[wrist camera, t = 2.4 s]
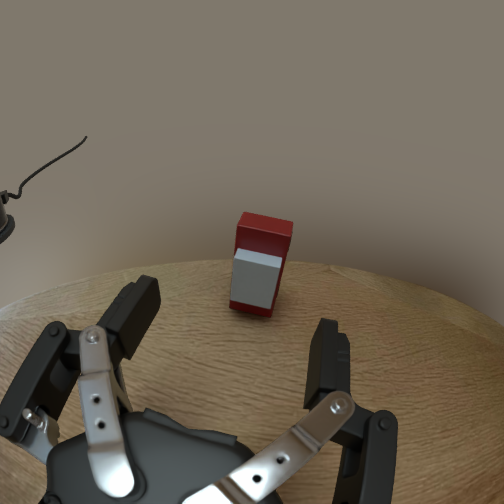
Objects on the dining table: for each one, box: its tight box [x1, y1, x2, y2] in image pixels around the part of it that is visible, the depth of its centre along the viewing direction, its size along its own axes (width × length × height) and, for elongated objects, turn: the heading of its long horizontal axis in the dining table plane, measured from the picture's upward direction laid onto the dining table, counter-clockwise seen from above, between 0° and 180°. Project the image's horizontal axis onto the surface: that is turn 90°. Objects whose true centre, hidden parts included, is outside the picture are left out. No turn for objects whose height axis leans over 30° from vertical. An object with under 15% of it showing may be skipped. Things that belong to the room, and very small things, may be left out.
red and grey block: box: [229, 212, 293, 317], centre depth 26 cm, size 5×5×10 cm
